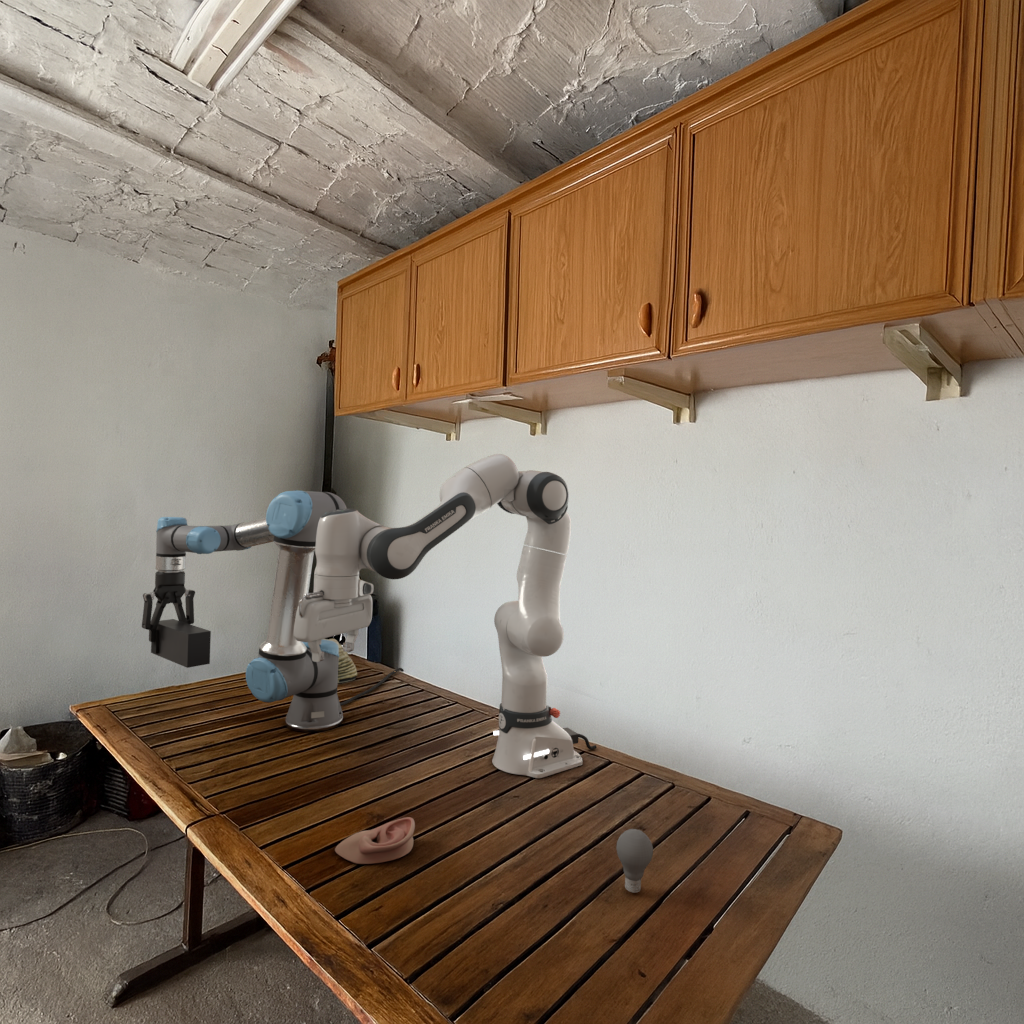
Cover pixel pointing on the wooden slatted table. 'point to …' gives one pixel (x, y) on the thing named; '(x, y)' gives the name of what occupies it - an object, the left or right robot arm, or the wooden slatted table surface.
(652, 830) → the wooden slatted table surface
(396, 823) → the anatomical model
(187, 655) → the box
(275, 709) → the wooden slatted table surface
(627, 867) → the light bulb
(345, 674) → the fossil
